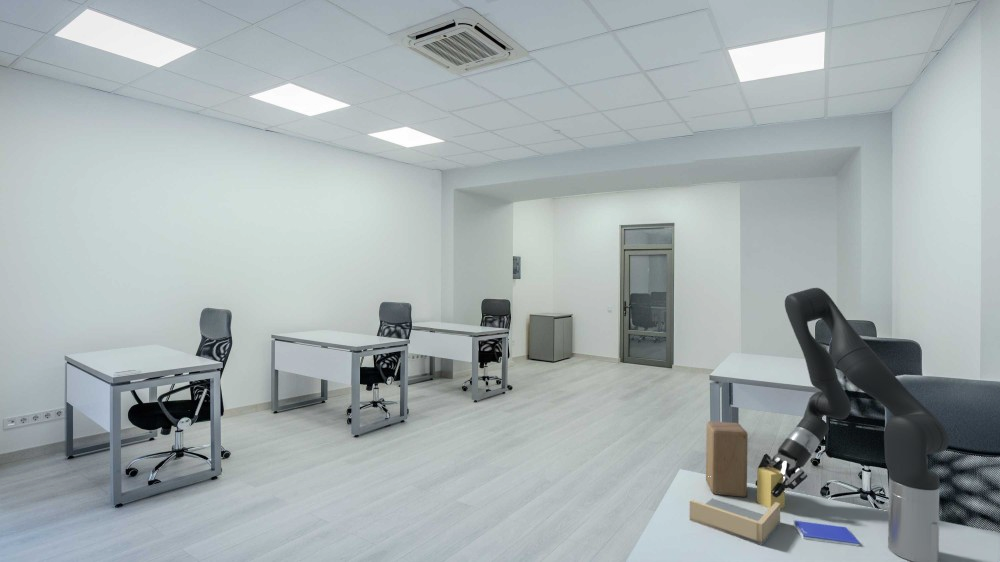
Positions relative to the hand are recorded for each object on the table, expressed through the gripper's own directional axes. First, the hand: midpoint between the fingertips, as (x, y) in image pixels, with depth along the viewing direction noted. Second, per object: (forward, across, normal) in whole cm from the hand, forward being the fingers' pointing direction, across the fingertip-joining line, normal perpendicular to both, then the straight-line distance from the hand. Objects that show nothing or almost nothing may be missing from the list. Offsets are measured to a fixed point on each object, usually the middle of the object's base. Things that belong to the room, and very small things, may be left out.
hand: (765, 490), depth 142 cm
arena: (+14, +6, -8) cm, 17 cm away
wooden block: (+6, -12, 0) cm, 13 cm away
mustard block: (+2, 0, +4) cm, 5 cm away
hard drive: (+2, +17, +5) cm, 18 cm away
